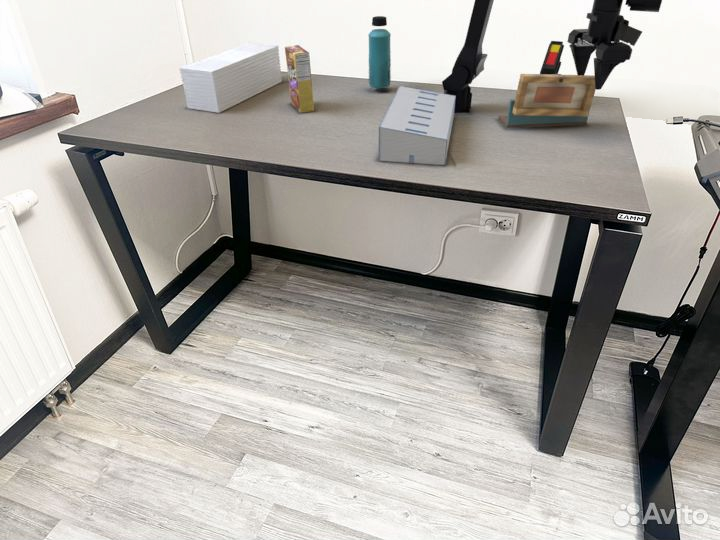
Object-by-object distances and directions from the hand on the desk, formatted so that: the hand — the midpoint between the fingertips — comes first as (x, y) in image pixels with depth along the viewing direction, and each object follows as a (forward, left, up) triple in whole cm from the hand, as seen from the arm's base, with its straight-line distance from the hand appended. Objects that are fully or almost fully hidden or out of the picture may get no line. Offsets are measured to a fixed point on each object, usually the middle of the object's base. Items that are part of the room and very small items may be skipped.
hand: (589, 83), depth 121 cm
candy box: (-67, +25, -11) cm, 73 cm away
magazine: (0, +21, -11) cm, 24 cm away
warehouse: (-39, -1, -11) cm, 41 cm away
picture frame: (-8, 0, -7) cm, 11 cm away
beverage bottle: (-44, +38, -11) cm, 60 cm away
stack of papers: (-86, +40, -11) cm, 96 cm away
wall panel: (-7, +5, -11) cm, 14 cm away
